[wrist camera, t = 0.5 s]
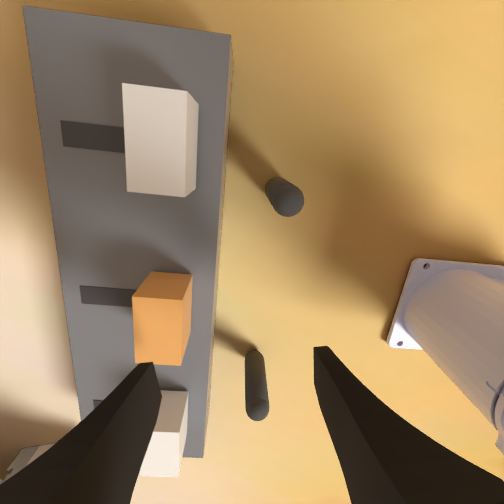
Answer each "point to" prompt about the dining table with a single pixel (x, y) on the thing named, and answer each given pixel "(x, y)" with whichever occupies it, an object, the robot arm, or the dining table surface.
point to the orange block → (162, 318)
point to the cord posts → (256, 395)
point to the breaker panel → (129, 203)
